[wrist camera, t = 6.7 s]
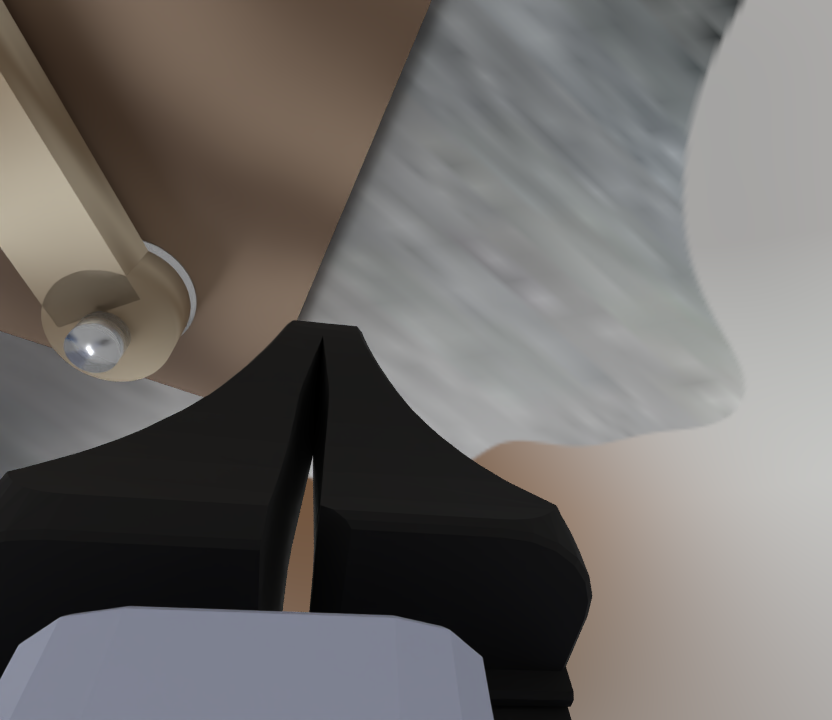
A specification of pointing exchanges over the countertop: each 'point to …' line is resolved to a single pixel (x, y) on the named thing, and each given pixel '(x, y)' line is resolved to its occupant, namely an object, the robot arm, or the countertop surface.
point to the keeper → (114, 328)
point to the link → (75, 224)
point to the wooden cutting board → (221, 145)
